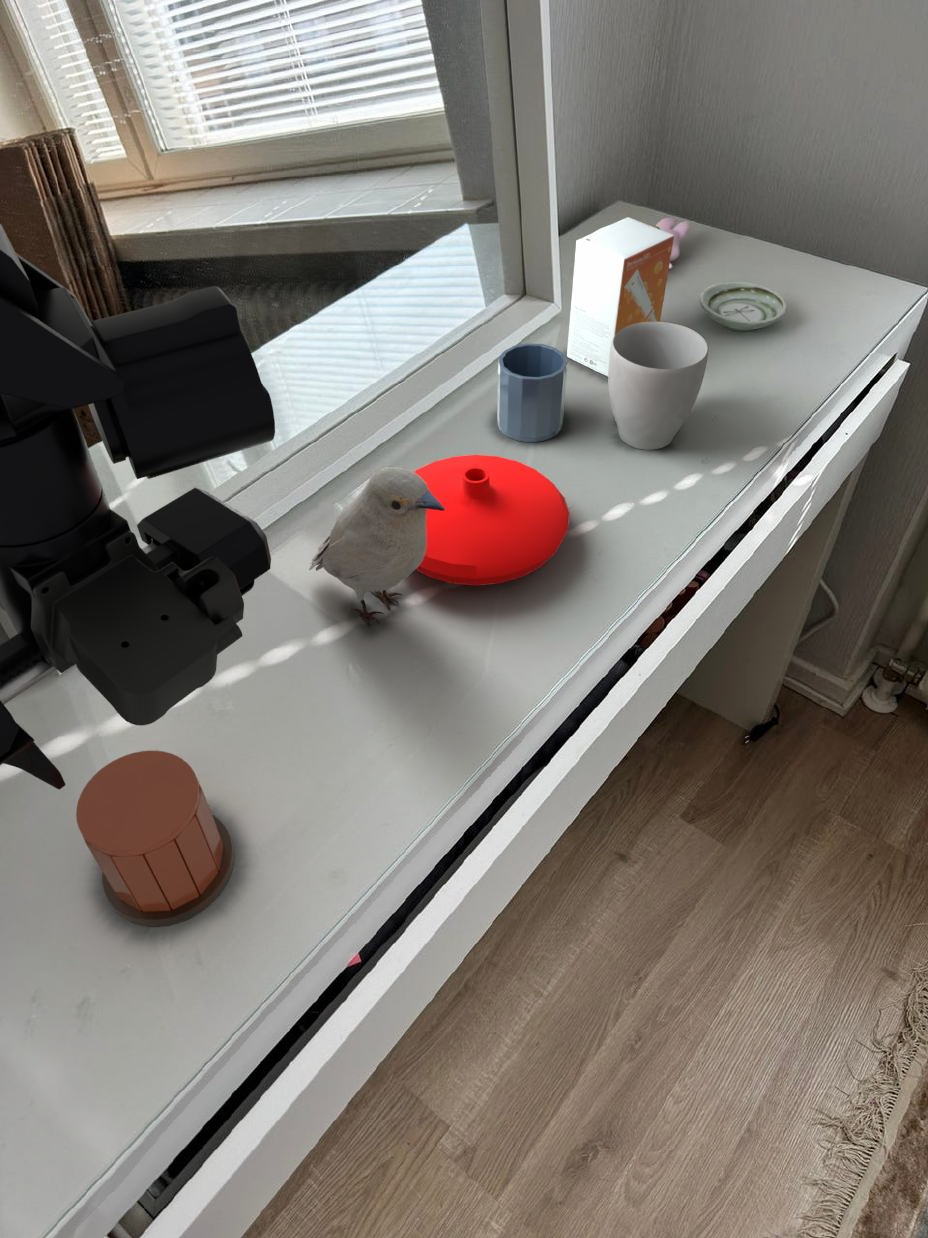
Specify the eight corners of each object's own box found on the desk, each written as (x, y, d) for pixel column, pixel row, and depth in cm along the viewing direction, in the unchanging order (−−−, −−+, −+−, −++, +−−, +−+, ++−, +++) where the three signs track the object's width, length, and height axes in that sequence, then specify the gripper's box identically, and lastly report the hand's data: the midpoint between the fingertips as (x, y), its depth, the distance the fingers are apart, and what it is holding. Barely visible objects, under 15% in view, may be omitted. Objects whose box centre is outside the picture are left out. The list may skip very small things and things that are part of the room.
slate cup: (521, 450, 88) (524, 386, 83) (485, 417, 92) (485, 354, 87) (575, 429, 91) (581, 366, 86) (537, 398, 95) (540, 336, 90)
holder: (128, 951, 54) (98, 905, 50) (89, 849, 59) (59, 799, 55) (254, 885, 57) (236, 836, 53) (207, 792, 62) (188, 741, 58)
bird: (430, 664, 70) (422, 510, 59) (296, 595, 75) (266, 442, 64) (466, 625, 72) (465, 471, 62) (335, 561, 78) (312, 409, 67)
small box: (609, 379, 97) (624, 259, 88) (565, 357, 100) (574, 238, 91) (657, 351, 101) (676, 233, 91) (613, 330, 104) (626, 214, 95)
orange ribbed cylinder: (131, 932, 54) (95, 873, 49) (98, 845, 58) (61, 783, 53) (239, 876, 57) (215, 815, 52) (199, 796, 61) (174, 732, 56)
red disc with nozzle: (474, 462, 87) (474, 398, 82) (604, 539, 79) (613, 473, 74) (347, 541, 79) (338, 475, 74) (476, 634, 72) (476, 568, 66)
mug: (667, 471, 86) (683, 380, 79) (584, 441, 89) (593, 351, 82) (719, 411, 93) (739, 323, 86) (640, 385, 96) (653, 298, 89)
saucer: (739, 350, 101) (743, 330, 99) (679, 314, 106) (682, 295, 105) (800, 325, 104) (806, 305, 103) (739, 292, 110) (743, 273, 108)
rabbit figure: (655, 304, 111) (702, 238, 118) (659, 260, 106) (708, 193, 113) (608, 292, 113) (657, 228, 120) (609, 248, 108) (661, 184, 115)
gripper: (-87, 740, 30) (66, 948, 41) (325, 472, 40) (358, 699, 51) (-230, 589, 35) (-59, 811, 46) (167, 384, 45) (229, 608, 56)
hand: (132, 728), depth 50 cm, fingers open, 9 cm apart
